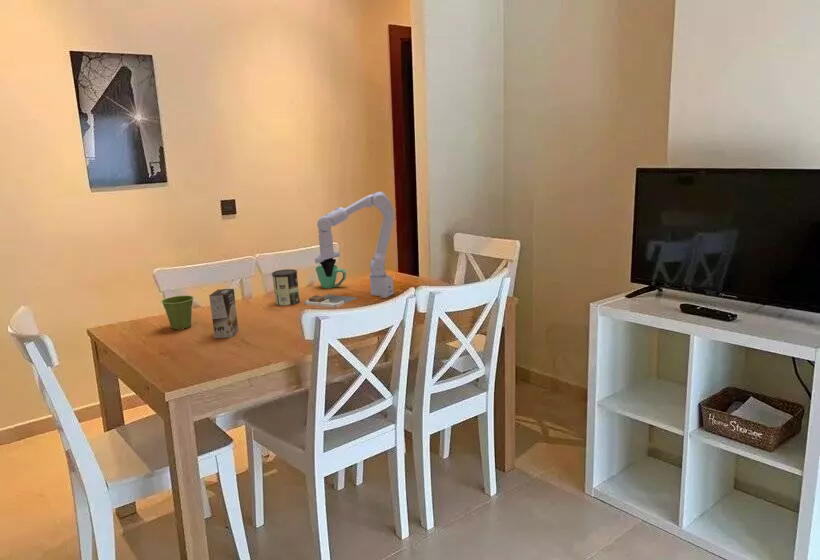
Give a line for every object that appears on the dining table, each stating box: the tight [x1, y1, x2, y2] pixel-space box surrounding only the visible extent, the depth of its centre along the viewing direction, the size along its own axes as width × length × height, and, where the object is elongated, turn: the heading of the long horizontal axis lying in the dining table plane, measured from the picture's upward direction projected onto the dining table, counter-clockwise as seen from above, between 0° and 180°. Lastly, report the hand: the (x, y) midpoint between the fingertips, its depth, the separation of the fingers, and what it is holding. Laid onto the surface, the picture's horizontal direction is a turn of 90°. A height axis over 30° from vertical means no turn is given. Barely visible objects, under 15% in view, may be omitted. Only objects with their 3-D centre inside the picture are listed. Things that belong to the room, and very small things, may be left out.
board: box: [303, 294, 358, 309], centre depth 268 cm, size 16×16×2 cm
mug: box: [315, 264, 347, 289], centre depth 291 cm, size 15×10×10 cm
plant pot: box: [160, 295, 195, 330], centre depth 244 cm, size 12×12×11 cm
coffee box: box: [208, 288, 239, 339], centre depth 232 cm, size 9×6×16 cm
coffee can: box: [271, 268, 301, 307], centre depth 268 cm, size 10×10×14 cm
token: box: [308, 295, 325, 302], centre depth 266 cm, size 4×4×2 cm
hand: (329, 276), depth 272 cm, fingers closed
